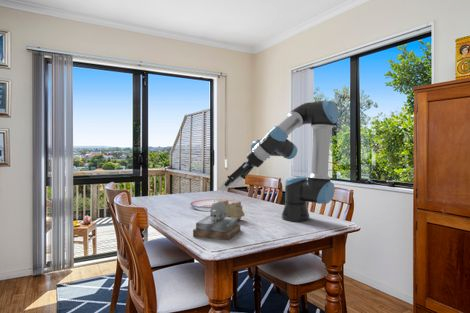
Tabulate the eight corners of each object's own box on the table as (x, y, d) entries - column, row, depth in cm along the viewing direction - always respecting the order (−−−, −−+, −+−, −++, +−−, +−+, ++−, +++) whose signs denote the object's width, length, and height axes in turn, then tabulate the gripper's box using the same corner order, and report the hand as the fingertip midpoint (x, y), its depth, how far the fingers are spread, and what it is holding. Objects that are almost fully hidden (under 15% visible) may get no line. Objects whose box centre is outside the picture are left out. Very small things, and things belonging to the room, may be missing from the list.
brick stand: (240, 230, 151) (240, 217, 151) (228, 240, 135) (229, 226, 135) (207, 227, 156) (207, 215, 156) (193, 236, 140) (193, 223, 140)
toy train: (239, 222, 167) (239, 203, 166) (213, 218, 176) (213, 200, 175) (244, 220, 171) (244, 202, 171) (219, 216, 181) (219, 198, 180)
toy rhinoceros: (205, 226, 142) (203, 210, 139) (215, 212, 152) (213, 197, 149) (220, 228, 140) (217, 212, 136) (229, 213, 150) (227, 198, 147)
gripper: (256, 163, 126) (222, 198, 131) (270, 160, 149) (240, 190, 155) (243, 150, 127) (210, 185, 133) (259, 148, 151) (230, 179, 156)
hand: (226, 188), depth 144 cm, fingers open, 13 cm apart
